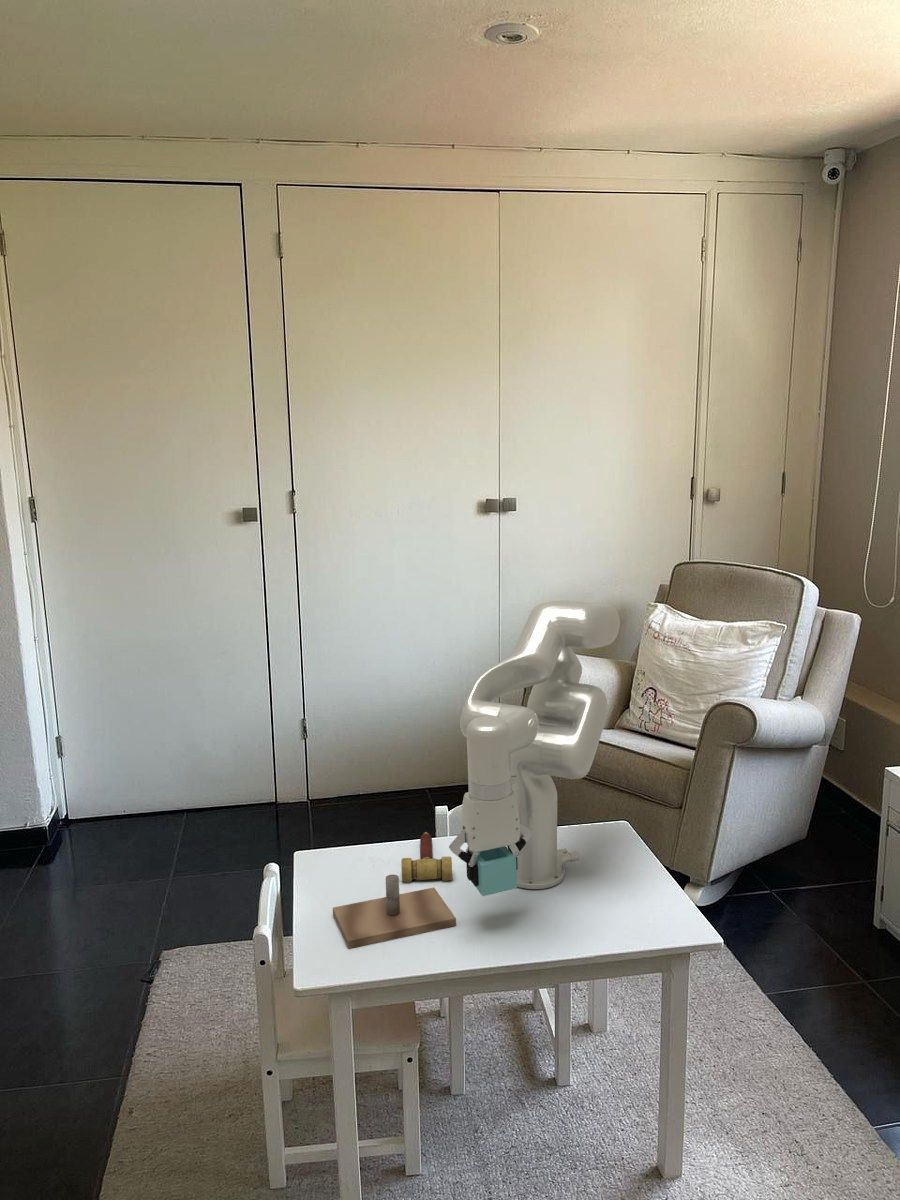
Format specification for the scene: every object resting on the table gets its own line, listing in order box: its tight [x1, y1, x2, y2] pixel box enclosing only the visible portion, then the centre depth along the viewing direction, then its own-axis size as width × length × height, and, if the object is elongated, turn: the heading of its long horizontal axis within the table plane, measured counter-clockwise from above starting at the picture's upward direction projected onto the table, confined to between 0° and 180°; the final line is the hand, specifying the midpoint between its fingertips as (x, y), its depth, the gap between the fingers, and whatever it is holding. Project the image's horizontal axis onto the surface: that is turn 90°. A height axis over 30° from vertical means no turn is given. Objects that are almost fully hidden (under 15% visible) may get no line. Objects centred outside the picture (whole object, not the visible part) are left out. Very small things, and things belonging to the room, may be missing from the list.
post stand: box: [332, 874, 457, 949], centre depth 170 cm, size 20×12×8 cm, turn 110°
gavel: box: [401, 831, 453, 883], centre depth 194 cm, size 21×5×10 cm
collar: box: [474, 846, 518, 897], centre depth 167 cm, size 7×7×6 cm
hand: (492, 877), depth 167 cm, fingers closed on collar, 6 cm apart
